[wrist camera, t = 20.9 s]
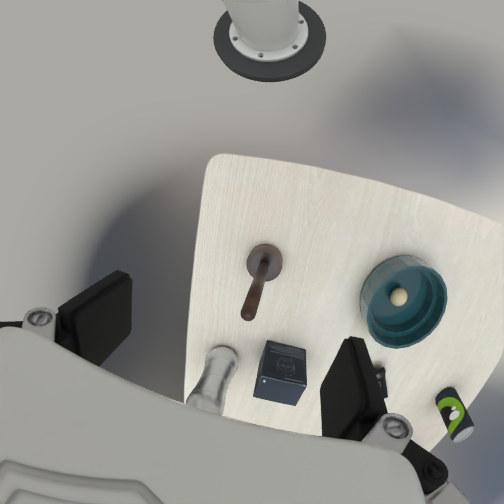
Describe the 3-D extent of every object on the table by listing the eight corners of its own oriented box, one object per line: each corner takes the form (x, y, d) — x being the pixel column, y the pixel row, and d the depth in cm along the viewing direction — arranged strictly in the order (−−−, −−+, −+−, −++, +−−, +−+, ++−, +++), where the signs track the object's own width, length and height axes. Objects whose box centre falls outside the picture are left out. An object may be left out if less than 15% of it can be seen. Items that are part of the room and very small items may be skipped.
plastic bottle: (244, 348, 51) (220, 426, 32) (235, 371, 54) (211, 446, 35) (213, 338, 52) (177, 411, 33) (206, 361, 54) (173, 432, 35)
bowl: (377, 244, 42) (388, 255, 37) (444, 266, 41) (459, 278, 35) (347, 322, 47) (352, 340, 41) (412, 336, 46) (422, 353, 40)
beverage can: (452, 398, 49) (471, 437, 35) (432, 406, 50) (449, 446, 36) (456, 383, 47) (478, 422, 33) (436, 391, 49) (456, 433, 34)
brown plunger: (266, 237, 45) (247, 281, 27) (289, 262, 45) (285, 320, 27) (242, 258, 46) (209, 313, 28) (264, 282, 47) (246, 347, 29)
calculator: (348, 407, 53) (350, 416, 50) (338, 374, 50) (340, 384, 48) (387, 394, 50) (389, 403, 48) (381, 360, 48) (385, 369, 45)
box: (259, 360, 52) (251, 397, 42) (267, 339, 50) (260, 375, 40) (297, 370, 51) (295, 407, 41) (306, 349, 50) (307, 386, 39)
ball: (412, 295, 40) (406, 284, 42) (397, 294, 40) (391, 283, 42) (405, 310, 41) (399, 299, 44) (390, 309, 41) (385, 298, 44)
